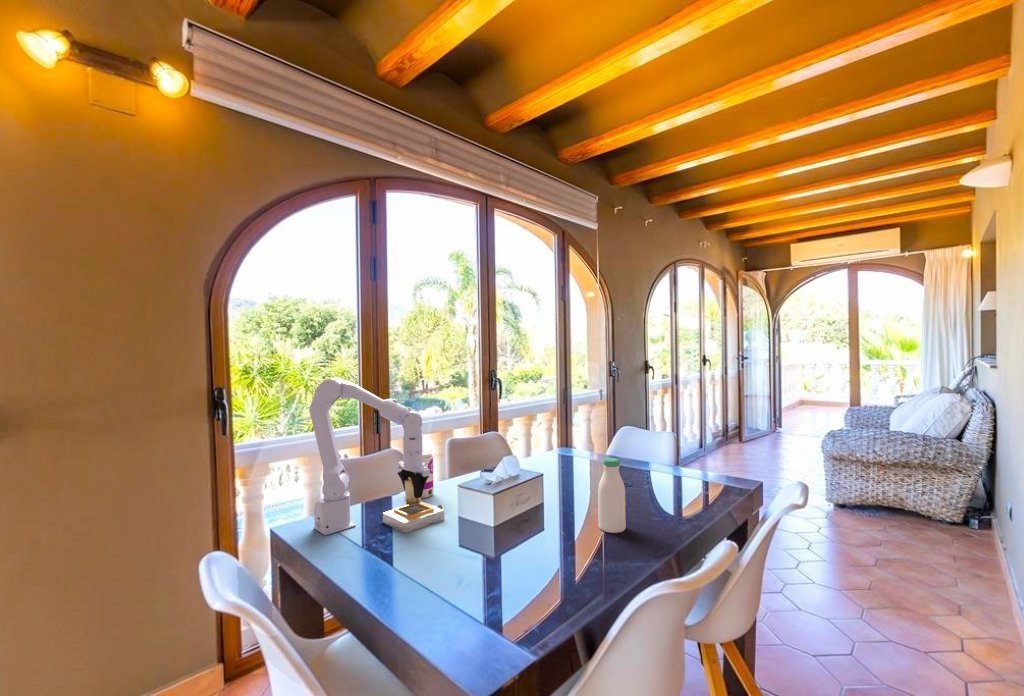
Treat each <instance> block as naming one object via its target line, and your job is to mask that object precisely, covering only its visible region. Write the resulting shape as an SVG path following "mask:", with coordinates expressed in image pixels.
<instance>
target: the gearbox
mask: <svg viewBox="0 0 1024 696" xmlns="http://www.w3.org/2000/svg"><path fill="white" fill-rule="evenodd" d="M442 521H445V509H443V506H442V505H441V504H438V505H433V504H430V503H427V502H424V501H422V500H421V503H419V504H417V505H407V504H405V505H403V506H399V507H397V508H396V507H395V508H393V509H391V510H387V511H385V512H384V511H383V512H382V523H384V524H385V525H387V526H389V527H391V528H393V529H395V530H396V531H400V532H401V533H402V534H408V533H410V532H413V531H416V530H419V529H422V528H425V527H428V526H430V525H433V524H436V523H440V522H442Z"/></svg>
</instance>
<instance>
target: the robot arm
mask: <svg viewBox="0 0 1024 696" xmlns="http://www.w3.org/2000/svg"><path fill="white" fill-rule="evenodd" d="M340 398H341V400H343V399H344V400H346V399H355V400H356V401H359V402H362V403H364V404H365V405H367V406H369V407H372V408H374V409H375V410H378V413H379V416H381V417H382V418H384V419H386V420H388V421H390V422H392V423H393V424H394V423H395V425H398V426H399V425H401V426H402V428H403V436H402V440H403V441H402V444H403V445H402V448H403V449H402V453H403V454H402V455H403V456H402V458H403V460H401V461H398V462H397V469H399V470H400V471H398V472H397V475H398V476H399V478H400V480H401V483H402V486H403V490H404V492H405V479H408V476H410V478H411V481H412V484H413V489H414V497H415V498H416V499H417V498H420V497H422V494H423V489H424V486H425V483H426V481H427V479H428V477H429V476H430V469H428V468H426V467H425V463H423V451H424V450H423V435H422V433H423V429H422V426H423V417H422V414H421V413H420V412H419V411H417V410H416V409H412V407H410V406H408V407H407V406H405V405H403V404H401V403H399V402H398V399H396V398H393V399H392V398H386V399H382V398H380V397H379V396H377V395H376V394H374V393H371V392H370V391H368V390H366V389H364V387H361V386H359V385H357V384H355V383H354V382H351V381H349V380H344V378H341V377H339V376H333V377H331V378H327V379H324V380H323V381H321V383H320V384H319V385H318V386H317V387H316V388H315V391H314V395H313V397H312V401H311V403H310V405H309V415H310V420H311V422H312V427H313V431H314V434H315V435H314V436H315V439H316V443H317V447H318V452H319V456H320V461H321V465H322V468H323V469H322V481H323V485H322V489H321V491H322V494H323V498H322V499H320V500H319V501H316V502H315V504H314V509H313V510H314V513H313V515H314V526H313V529H315V530H316V531H318V532H319V533H320V534H322V535H324V536H327V535H330V534H334V533H337V532H341V531H344V530H348V529H351V528H354V527H356V526H357V525H356V523H354V522H353V521H351V503H350V502H351V493H350V492H349V491H348V487H349V486H350V483H351V477H350V476H351V475H350V474H349V473H348V472H347V470H346V469H345V466H344V464H343V463H342V460H341V458H340V453H339V449H338V445H337V440H336V437H335V432H334V427H333V423H332V419H331V416H330V409H331V408H332V407H333V406H334V404H335V402H337V400H339V399H340ZM415 473H416V475H415Z"/></svg>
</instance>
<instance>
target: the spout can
mask: <svg viewBox="0 0 1024 696" xmlns="http://www.w3.org/2000/svg"><path fill="white" fill-rule="evenodd" d="M404 493H405V495H404V497H405V505H417V504H419V503H421V501H422V498H421V497H420V498H417V499H416V498H415V497H414V489H413V484H412V481H411V478H410V476H408V479H405V491H404Z"/></svg>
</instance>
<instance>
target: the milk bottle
mask: <svg viewBox="0 0 1024 696" xmlns="http://www.w3.org/2000/svg"><path fill="white" fill-rule="evenodd" d="M602 463H603V464H602V465H603V472H602V475H601V478H600V480H599V482H598V488H597V489H598V491H597V495H598V496H597V498H598V499H597V500H598V501H597V505H598V507H597V513H598V514H597V515H598V516H597V518H598V520H597V521H598V528H599V530H601V531H603V532H606V533H609V534H617V533H622V532H624V531H625V530H626V529H627V528H626V527H627V525H626V524H627V523H626V519H627V517H626V514H627V513H626V511H627V510H626V509H627V508H626V507H627V506H626V505H627V504H626V487H625V483H624V481H623V479H622V476H621V474H620V470H619V469H620V464H621V463H620V459H619V458H616V457H606V458H603V461H602Z"/></svg>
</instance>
